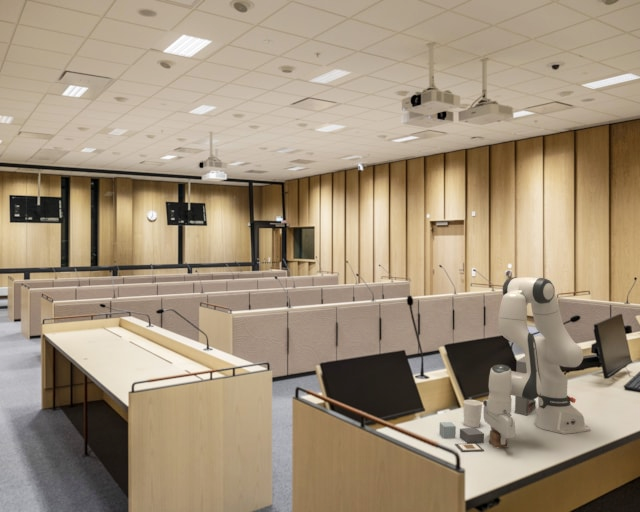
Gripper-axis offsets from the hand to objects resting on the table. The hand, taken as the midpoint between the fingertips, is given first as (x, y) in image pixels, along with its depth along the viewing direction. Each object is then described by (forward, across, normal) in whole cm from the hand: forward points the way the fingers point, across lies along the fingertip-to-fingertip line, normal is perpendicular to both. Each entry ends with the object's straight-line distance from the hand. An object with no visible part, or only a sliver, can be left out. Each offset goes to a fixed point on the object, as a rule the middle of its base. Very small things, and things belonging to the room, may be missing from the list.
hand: (498, 440), depth 210 cm
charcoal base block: (+2, +6, +9) cm, 11 cm away
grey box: (+2, +39, -33) cm, 51 cm away
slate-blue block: (+2, +11, +17) cm, 20 cm away
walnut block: (+2, 0, 0) cm, 2 cm away
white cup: (+2, +23, +1) cm, 23 cm away
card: (+2, -2, +13) cm, 13 cm away
